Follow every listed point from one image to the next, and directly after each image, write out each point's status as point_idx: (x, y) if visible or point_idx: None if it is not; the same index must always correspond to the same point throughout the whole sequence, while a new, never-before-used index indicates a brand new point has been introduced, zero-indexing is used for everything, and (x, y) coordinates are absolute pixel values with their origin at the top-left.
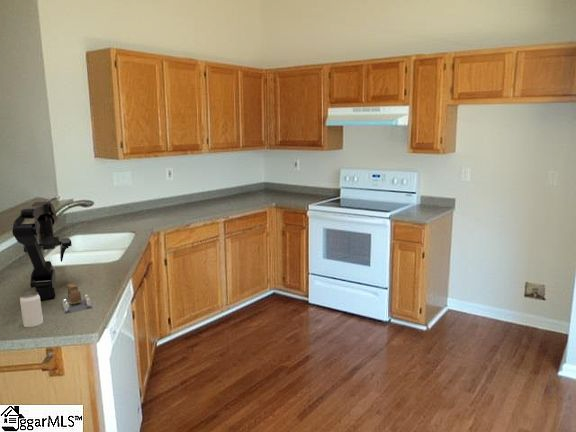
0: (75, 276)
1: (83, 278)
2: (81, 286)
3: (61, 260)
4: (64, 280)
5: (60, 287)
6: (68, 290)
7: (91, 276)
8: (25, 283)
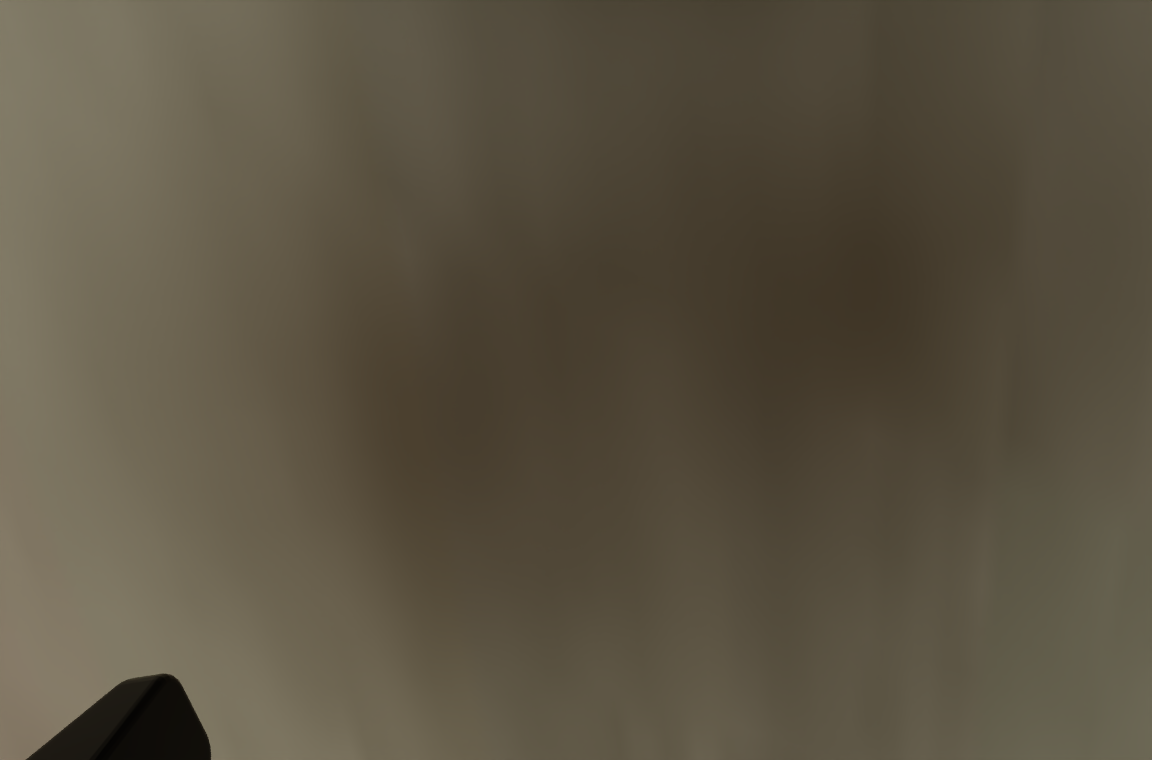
0: (309, 754)
1: (132, 620)
2: (15, 152)
3: (103, 724)
4: (463, 633)
5: (477, 269)
6: None
7: (11, 670)
8: (1085, 706)
